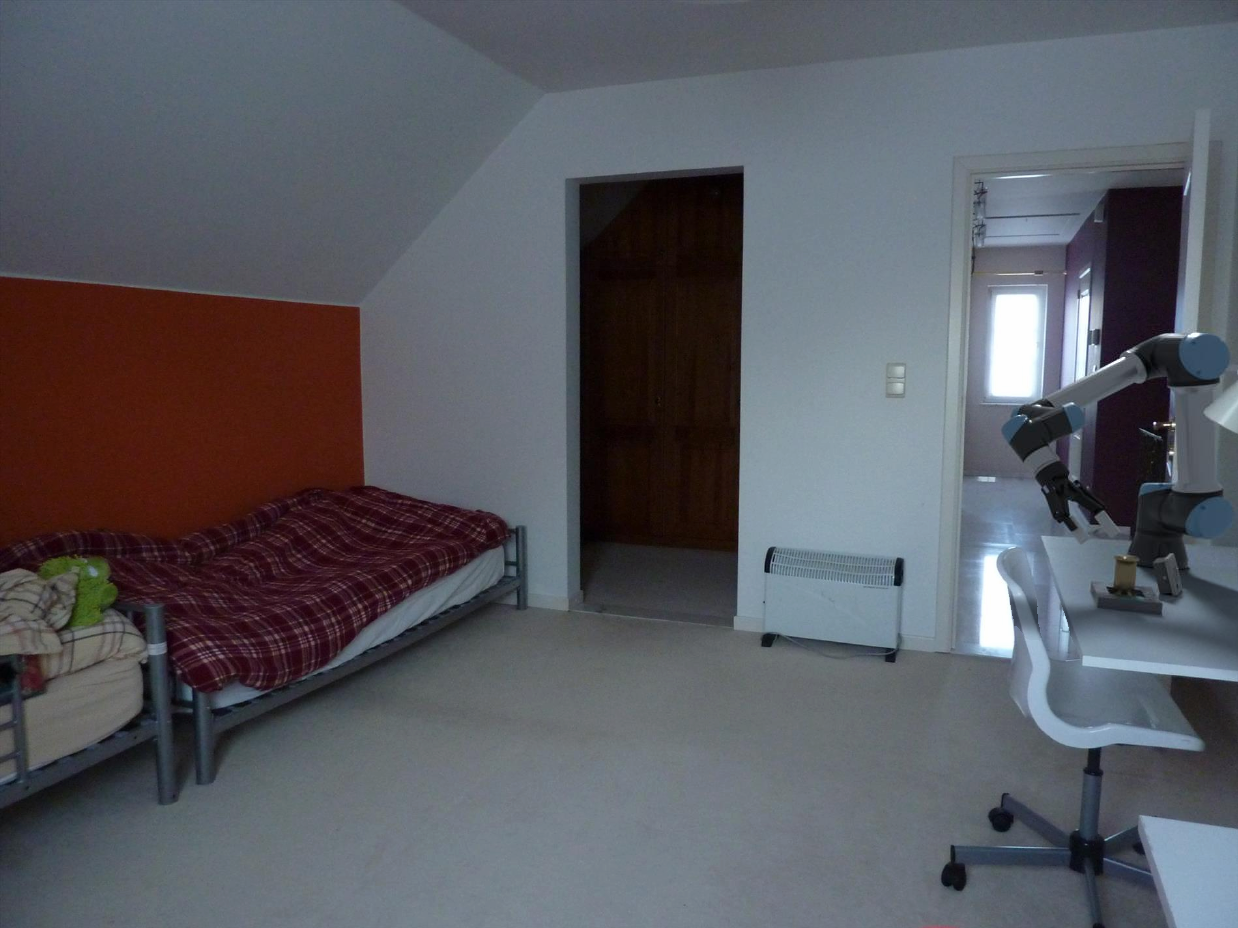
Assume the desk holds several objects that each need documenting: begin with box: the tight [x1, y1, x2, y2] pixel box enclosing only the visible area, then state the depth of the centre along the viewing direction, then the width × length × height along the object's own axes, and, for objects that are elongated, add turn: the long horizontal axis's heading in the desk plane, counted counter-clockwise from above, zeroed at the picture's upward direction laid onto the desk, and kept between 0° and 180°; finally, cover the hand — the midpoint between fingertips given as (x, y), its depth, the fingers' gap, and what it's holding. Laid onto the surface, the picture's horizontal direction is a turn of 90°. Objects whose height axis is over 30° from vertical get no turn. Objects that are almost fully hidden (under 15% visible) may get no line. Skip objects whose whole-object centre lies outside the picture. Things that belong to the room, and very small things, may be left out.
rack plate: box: [1089, 580, 1164, 616], centre depth 217 cm, size 16×13×3 cm
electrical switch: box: [1152, 553, 1183, 597], centre depth 228 cm, size 9×5×9 cm, turn 141°
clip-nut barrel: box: [1113, 554, 1139, 596], centre depth 216 cm, size 5×5×11 cm
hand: (1101, 538), depth 221 cm, fingers open, 13 cm apart
